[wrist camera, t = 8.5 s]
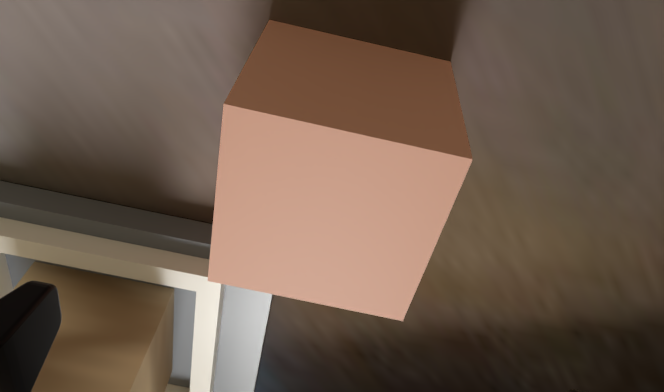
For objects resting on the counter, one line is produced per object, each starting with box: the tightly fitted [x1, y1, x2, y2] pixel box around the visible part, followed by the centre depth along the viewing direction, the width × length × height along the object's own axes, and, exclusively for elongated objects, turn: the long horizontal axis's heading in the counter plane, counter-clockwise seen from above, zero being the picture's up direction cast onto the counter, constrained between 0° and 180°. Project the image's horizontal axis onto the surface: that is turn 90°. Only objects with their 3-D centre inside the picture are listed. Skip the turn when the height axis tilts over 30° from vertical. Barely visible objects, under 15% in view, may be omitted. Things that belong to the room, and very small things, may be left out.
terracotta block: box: [208, 20, 473, 321], centre depth 14 cm, size 5×5×5 cm
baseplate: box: [0, 181, 273, 392], centre depth 21 cm, size 12×10×2 cm
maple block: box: [12, 262, 174, 392], centre depth 19 cm, size 5×5×5 cm
